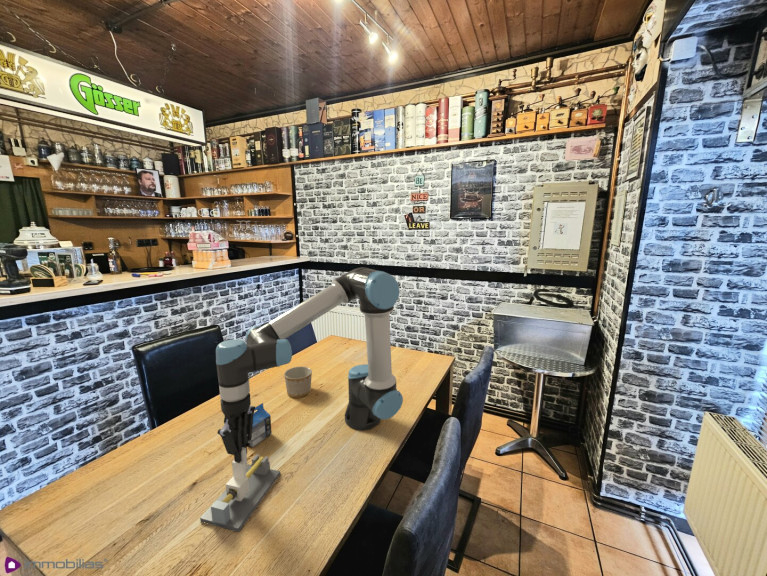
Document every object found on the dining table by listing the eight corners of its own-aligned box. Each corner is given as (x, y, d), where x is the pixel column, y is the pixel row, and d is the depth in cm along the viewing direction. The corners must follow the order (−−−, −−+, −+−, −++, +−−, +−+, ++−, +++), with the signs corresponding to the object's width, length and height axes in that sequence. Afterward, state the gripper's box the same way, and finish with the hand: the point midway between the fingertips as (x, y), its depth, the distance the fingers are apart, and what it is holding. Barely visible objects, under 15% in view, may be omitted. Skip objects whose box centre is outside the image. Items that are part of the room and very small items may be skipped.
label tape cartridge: (252, 448, 113) (250, 417, 111) (245, 444, 115) (242, 414, 112) (272, 434, 121) (270, 405, 118) (265, 431, 122) (263, 402, 120)
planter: (279, 396, 147) (278, 375, 145) (296, 383, 159) (295, 364, 156) (301, 402, 142) (301, 381, 140) (317, 388, 154) (317, 369, 152)
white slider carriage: (249, 491, 92) (246, 462, 90) (240, 501, 88) (238, 471, 86) (235, 487, 93) (232, 459, 91) (227, 497, 89) (223, 468, 87)
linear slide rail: (280, 474, 101) (279, 457, 100) (238, 532, 82) (236, 512, 81) (248, 467, 104) (246, 451, 103) (200, 521, 85) (198, 502, 84)
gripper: (239, 382, 94) (245, 450, 99) (205, 406, 82) (214, 483, 86) (261, 385, 92) (266, 454, 97) (230, 410, 80) (237, 488, 85)
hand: (242, 468), depth 92 cm, fingers closed
